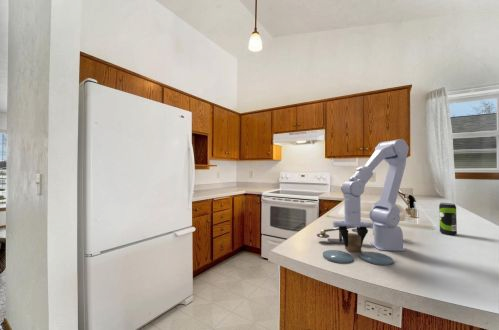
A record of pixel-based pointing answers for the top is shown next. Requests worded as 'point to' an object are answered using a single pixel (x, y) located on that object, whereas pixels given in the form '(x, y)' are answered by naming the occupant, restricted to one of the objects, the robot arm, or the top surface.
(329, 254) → the dish
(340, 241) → the balance
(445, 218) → the beverage can
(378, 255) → the dish
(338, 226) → the robot arm
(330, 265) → the top surface
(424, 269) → the top surface
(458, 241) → the top surface
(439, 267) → the top surface
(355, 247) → the walnut block
